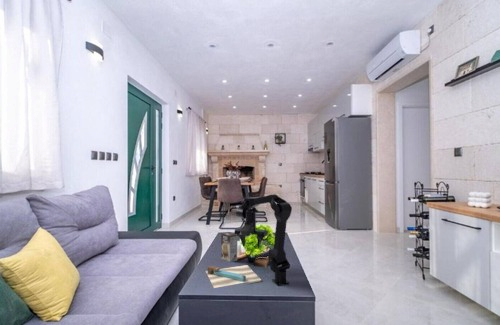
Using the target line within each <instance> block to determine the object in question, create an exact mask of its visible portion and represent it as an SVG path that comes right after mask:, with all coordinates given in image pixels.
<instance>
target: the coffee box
mask: <svg viewBox="0 0 500 325" xmlns="http://www.w3.org/2000/svg"><path fill="white" fill-rule="evenodd" d="M220 237H221V239H220V242H221V244H220V245H221V247H220V248H221V251H220V252H221V255H220V256H221V260H224V261H227V262H236V261H238V236H237V235H236V234H235V232H234V233H233V232H230V231H227V232H221V236H220Z"/></svg>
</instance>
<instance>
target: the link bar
mask: <svg viewBox="0 0 500 325" xmlns="http://www.w3.org/2000/svg"><path fill="white" fill-rule="evenodd" d="M214 274H215V275H219V276H223V277H227V278H231V279H235V280H239V281H245V279H246V276H245V275H240V274H236V273H231V272H227V271H223V270H218V271H214Z"/></svg>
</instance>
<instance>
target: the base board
mask: <svg viewBox="0 0 500 325" xmlns="http://www.w3.org/2000/svg"><path fill="white" fill-rule="evenodd" d="M219 270H223V271H227V272H231V273H236V274H240V275H245V276H246V279H245V281H239V280H235V279H231V278H227V277H223V276H219V275H215V274H214V273H212V274H211V275H210V274H208V270H205V273H206V275H207V276H208V279H209V281H210V283H211V285H212V287H213V289H215V288H221V287H222V288H223V287H228V286H233V285H239V284H245V283H246V284H247V285H249V284H254V283H258V282H262V279H261V278H260V277H259V275H257V273H255V272H254V271H253V270H252V268H251V267H250V266H249V265H247V264H246V265H245V264H244V265H240V266H239V265H238V266H231V267H225V268H220V269H219Z"/></svg>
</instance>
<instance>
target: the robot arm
mask: <svg viewBox="0 0 500 325" xmlns="http://www.w3.org/2000/svg"><path fill="white" fill-rule="evenodd" d="M263 204H269V205H270V208H271V209H272V211H273V215H274V218H275V219H276V222H275V233H274V241H273V242H274V244H273V248H272V249H269V250H268V255H269V256H268V258H269V267H270V271H272V273H274V278H273V279H271V281H272V283H274V284H275V285H276V286H283V285H288V284H290V282H289V281H288V280H287V270H289V269H290V268H291V264H290V262H289V260H288V258H287V254H286V251H285V249H284V248H285V239H286V231H287V222H288V220H289V218H290V217H291V215H292V211H293V210H292V206H291V204H290V203H289V202H288V201H286V200H285V199H283V198H281V197H280V196H279V195H278V194H275V193H272V194H269V195H264V196H259V197H257V196H255V197H254V196H253V197H245V198H244V200H243V202H242V203H241V205H239V206H238V208H236V212H235V214H236V217H238V218H241V219H245V221H244V222H243V223H244V225H243V226H242V227H241V226H240V227H239V226H238V227H237V228H235V229H234V234H236V235H237V237H239V239H240V242H241V244H242V246H243V247H245V245H246V237H249V236H250V235H257V237H256V239H257V249H260V246H261V244H262V242H263V240H264V238H265V237H267V236H268V234H269V233H268V230H267V229H259V230H258V228H257V224H256V223H257V222H258V221H257V217H256V216H257V213H258V212H259V211H258V209H257V207H259V205H263Z"/></svg>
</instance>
